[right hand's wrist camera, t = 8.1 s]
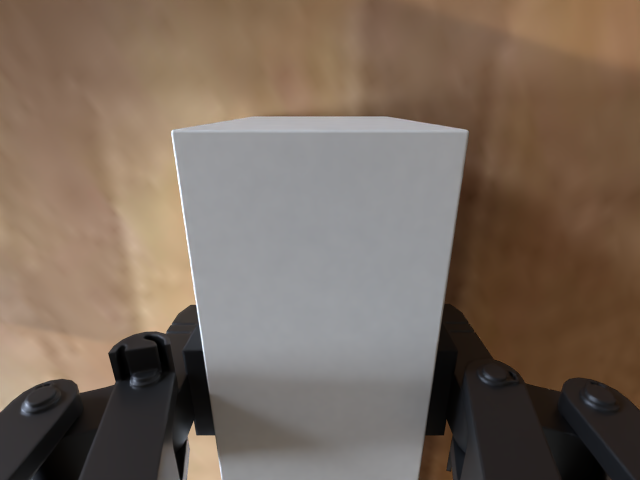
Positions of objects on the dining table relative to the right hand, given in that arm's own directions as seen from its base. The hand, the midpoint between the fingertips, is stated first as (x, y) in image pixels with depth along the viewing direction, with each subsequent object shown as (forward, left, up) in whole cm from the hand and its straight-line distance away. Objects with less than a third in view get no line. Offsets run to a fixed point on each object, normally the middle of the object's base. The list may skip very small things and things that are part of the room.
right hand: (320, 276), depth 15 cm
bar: (+6, -19, -1) cm, 20 cm away
